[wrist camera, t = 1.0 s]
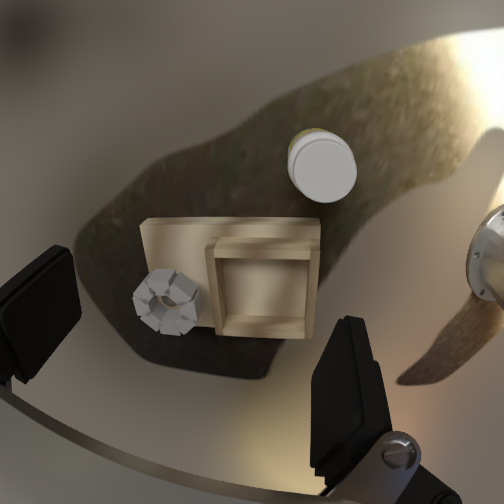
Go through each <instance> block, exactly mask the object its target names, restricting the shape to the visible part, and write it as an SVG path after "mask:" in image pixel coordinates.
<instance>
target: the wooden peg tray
mask: <svg viewBox="0 0 504 504" xmlns="http://www.w3.org/2000/svg"><path fill="white" fill-rule="evenodd" d="M140 230H141V235H142V240H143V245H144V250H145V255H146V260H147V264H148V269H149V273H150V272H151V271H154V270H155V269H176V273H177V275H178V274H179V272H180V271H181V272H182V273H183V274H184V275H186V276H187V277H188V278H189V279H190V280H192V281H193V282H194V283H195V284H196V285H198V286H197V288H196V289H197V290H200V291H201V298H202V304H203V309H202V312H201V314H200V317H199V319H198V322H197V324H196V325H195V326H203V327H215V332H216V335H225V336H240V337H259V338H284V339H312V337H313V328H314V319H315V308H316V298H317V287H318V274H319V261H320V233H321V224H320V220H319V218H295V217H178V218H148V219H146V220H145V221H144V222H143V223H142V224H141V225H140ZM157 297H158V301H159V302H160V303H161V304H163V305H164V306H165V307H166V308H168V309H173V310H179V306H178V304H176V303H175V302H174V301H173V300H171V299H170V298H169V297H168V296H159V295H157Z"/></svg>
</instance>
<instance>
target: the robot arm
mask: <svg viewBox="0 0 504 504" xmlns="http://www.w3.org/2000/svg"><path fill="white" fill-rule="evenodd" d="M466 276H467V281H468V283H469V286H470V288H471V289H472V290H473V292H474V293H475V294H476V295H477V296H478V297H479V298H480V299H482V300H485V301H497V302H498V303H499V305H500V306H501V307H502V309H503V310H504V204H503V205H501V206H499V207H498V208H496V209H495V210H493V211H492V212H491V213H490V214H489V215H488V216H487V217H486V218H485V219H484V221H483V222H482V223H481V225H480V226H479V228H478V229H477V231H476V233H475V235H474V237H473V239H472V241H471V244H470V247H469V250H468V254H467V260H466ZM81 314H82V310H81V305H80V299H79V294H78V288H77V282H76V276H75V269H74V262H73V256H72V254H71V253H70V250H69V249H68V248H66V247H62V246H59V245H54V246H52V247H51V248H49V249H48V250H47V251H45V252H44V253H43V254H41V255H40V256H39V257H38V258H36V259H35V260H34V261H33V262H31V263H30V264H28V265H27V266H26V267H25V268H23V269H22V270H21V271H20V272H18V273H17V274H16V275H15V276H14V277H12V278H11V279H10V280H9V281H8V282H6V283H5V284H4V285H3V286H2V287H1V288H0V504H462V500H461V499H460V496H459V495H458V494H457V493H456V492H455V491H454V490H452V489H451V488H450V487H448V486H447V485H446V484H444V483H443V482H442V481H440V480H439V479H438V478H437V477H435V476H434V475H433V474H431V473H430V472H429V471H428V470H427V469H425V468H424V467H423V466H421V465H420V461H421V450H420V447H419V445H418V443H417V442H416V440H415V439H414V438H413V437H412V436H410V435H408V434H406V433H405V432H401V431H393V430H392V424H391V419H390V413H389V407H388V402H387V397H386V393H385V388H384V383H383V378H382V374H381V369H380V366H379V363H378V362H377V361H374V360H373V355H372V351H371V347H370V342H369V338H368V334H367V330H366V326H365V322H364V319H363V318H358V317H353V316H348V315H347V316H345V317H344V319H339V320H338V321H337V323H336V325H335V328H334V330H333V332H332V334H331V337H330V339H329V341H328V343H327V345H326V347H325V350H324V352H323V354H322V356H321V358H320V360H319V362H318V364H317V366H316V368H315V370H314V372H313V375H312V380H311V445H310V466H311V468H315V476H320V477H325V485H326V487H325V488H324V489H323V491H321V492H320V493H319V494H318V495H308V494H300V493H292V492H283V491H275V490H268V489H261V488H255V487H249V486H244V485H238V484H234V483H229V482H224V481H219V480H214V479H210V478H206V477H202V476H198V475H194V474H190V473H187V472H182V471H179V470H176V469H172V468H169V467H166V466H163V465H160V464H157V463H154V462H151V461H148V460H145V459H142V458H140V457H137V456H134V455H132V454H129V453H126V452H124V451H121V450H119V449H116V448H114V447H112V446H109V445H107V444H105V443H102V442H100V441H98V440H95V439H93V438H91V437H89V436H87V435H85V434H83V433H81V432H79V431H77V430H75V429H73V428H71V427H69V426H67V425H65V424H63V423H61V422H60V421H58V420H56V419H54V418H52V417H51V416H49V415H47V414H45V413H44V412H42V411H40V410H39V409H37V408H35V407H34V406H32V405H30V404H29V403H27V402H25V401H24V400H22V399H21V398H19V397H18V396H16V395H15V394H13V393H12V387H11V386H12V385H11V377H12V376H13V375H14V376H15V378H16V379H18V380H19V381H21V382H22V383H24V384H27V382H28V381H29V379H32V378H34V377H35V376H36V374H37V373H38V372H39V370H40V369H41V368H42V366H43V365H44V364H45V362H46V361H47V360H48V358H49V357H50V356H51V354H52V353H53V352H54V351H55V349H56V348H57V347H58V346H59V344H60V343H61V342H62V341H63V339H64V338H65V337H66V336H67V334H68V333H69V332H70V331H71V329H72V328H73V327H74V326H75V325H76V324H77V322H78V321H79V320H80V318H81Z"/></svg>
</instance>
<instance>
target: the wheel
mask: <svg viewBox="0 0 504 504" xmlns="http://www.w3.org/2000/svg"><path fill="white" fill-rule="evenodd" d="M197 286H198V285H196V284H195V283H194V282H193V281H192V280H190V279H189V278H188V277H187V276H186V275H184V274H183V273H182V272H181V271H180V272H179V274H178V275H177V273H176V269H155V270H154V271H151V272H150V273H149V274H148V276H147V277H146V278H145V279H144V280H143V282H142V283H141V284H140V286H139V287H138V288H137V290H136V291H135V292H134V293H133V295H134V296H133V301H134V305H135V308H136V311H137V315H140V316H142V317H141V318H140V319H141V320H142V321H144V322H145V323H146V324H147V325H149V326H150V327H151V328H153V329H154V330H155V331H156V332H157V331H158V330H159V329H160V332H161V334H170V335H179V336H180V335H181V333H182V334H186V333H187V332H188V331H189V330H190V329H191V328H193V327H194V326H195V325H196V324H197V322H198V319H199V317H200V314H201V312H202V309H203V304H202V298H201V291H200V290H197V289H196V288H197ZM157 295H159V296H168V297H169V298H170V299H171V300H173V301H174V302H175V303H176V304H178V306H179V310H173V309H168V308H166V307H165V306H164V305H163V304H161V303H160V302H159V301H158V297H157Z"/></svg>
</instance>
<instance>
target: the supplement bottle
mask: <svg viewBox="0 0 504 504" xmlns="http://www.w3.org/2000/svg"><path fill="white" fill-rule="evenodd" d="M288 172H289V176H290V178H291V180H292V182H293V183H294V185H295V186H296V187H297V188H298V189H299V190H300V191H301V192H302V193H303V194H304V195H305V196H307V197H308V198H310V199H312V200H314V201H317V202H321V203H329V202H334V201H337V200H340V199H341V198H343V197H344V196H346V195H347V194H348V193H349V192H350V190H351V189H352V188H353V186H354V184H355V181H356V176H357V168H356V164H355V161H354V157H353V154H352V151H351V149H350V148H349V146H348V145H347V144H346V143H345V141H343V140H342V139H341V138H340V137H338V136H336V135H335V134H333V133H331V132H329V131H327V130H324V129H320V128H309V129H305V130H303V131H301V132H299V133H298V134H297V135H296V136H295V137H294V138H293V139H292V141H291V143H290V145H289V149H288Z"/></svg>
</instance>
